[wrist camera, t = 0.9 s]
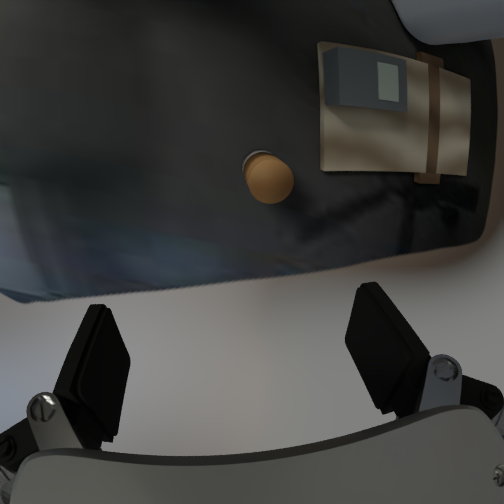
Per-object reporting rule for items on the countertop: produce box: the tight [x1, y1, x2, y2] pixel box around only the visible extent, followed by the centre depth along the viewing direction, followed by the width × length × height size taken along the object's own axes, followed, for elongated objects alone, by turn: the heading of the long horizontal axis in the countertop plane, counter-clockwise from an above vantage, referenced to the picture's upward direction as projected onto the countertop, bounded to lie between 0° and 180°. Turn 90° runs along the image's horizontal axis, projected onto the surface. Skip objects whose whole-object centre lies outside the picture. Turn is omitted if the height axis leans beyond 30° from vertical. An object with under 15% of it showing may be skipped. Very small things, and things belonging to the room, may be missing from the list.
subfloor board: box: [317, 41, 471, 184], centre depth 29 cm, size 18×24×1 cm
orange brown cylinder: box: [242, 149, 294, 204], centre depth 28 cm, size 4×4×7 cm
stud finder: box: [323, 46, 407, 113], centre depth 24 cm, size 6×8×4 cm
